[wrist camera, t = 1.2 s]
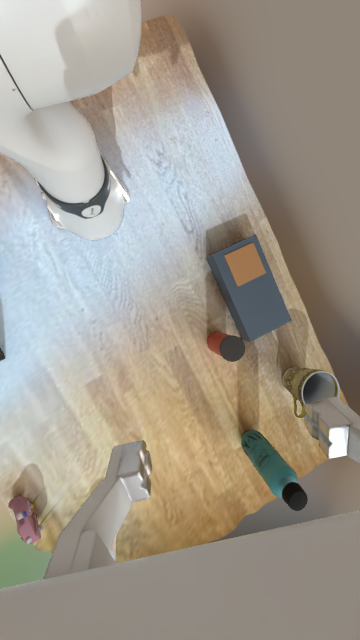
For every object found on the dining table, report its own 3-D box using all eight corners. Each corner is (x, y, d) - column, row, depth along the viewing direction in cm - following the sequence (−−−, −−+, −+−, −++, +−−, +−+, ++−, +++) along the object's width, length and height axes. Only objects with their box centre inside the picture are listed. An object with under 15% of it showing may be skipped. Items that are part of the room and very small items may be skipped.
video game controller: (44, 520, 54) (45, 542, 48) (22, 536, 51) (20, 560, 45) (30, 485, 53) (30, 502, 47) (7, 498, 50) (4, 518, 44)
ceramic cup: (289, 354, 60) (317, 362, 50) (315, 373, 61) (347, 385, 52) (263, 393, 59) (286, 410, 49) (290, 412, 61) (318, 431, 51)
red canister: (203, 336, 56) (216, 343, 45) (221, 327, 57) (239, 331, 46) (211, 355, 57) (226, 366, 46) (230, 346, 57) (249, 354, 46)
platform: (206, 259, 56) (212, 253, 50) (246, 240, 57) (256, 233, 52) (241, 339, 58) (251, 341, 53) (279, 319, 59) (292, 320, 54)
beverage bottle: (263, 430, 60) (321, 489, 40) (254, 453, 60) (307, 523, 40) (243, 422, 59) (291, 479, 39) (233, 445, 59) (277, 513, 39)
